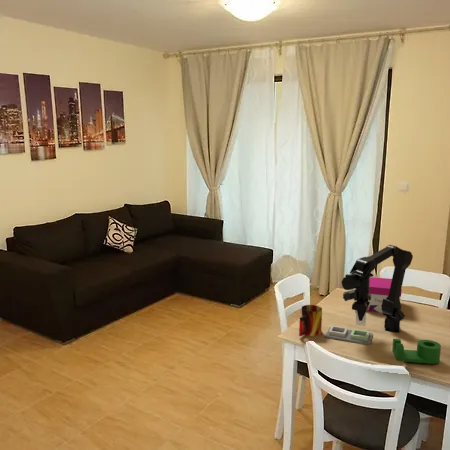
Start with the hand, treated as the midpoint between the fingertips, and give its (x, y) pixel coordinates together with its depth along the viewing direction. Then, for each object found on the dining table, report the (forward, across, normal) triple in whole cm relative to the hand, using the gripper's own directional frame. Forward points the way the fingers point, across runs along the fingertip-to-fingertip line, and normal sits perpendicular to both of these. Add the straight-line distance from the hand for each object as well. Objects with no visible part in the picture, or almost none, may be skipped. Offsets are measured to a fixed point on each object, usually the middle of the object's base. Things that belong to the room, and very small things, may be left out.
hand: (361, 319), depth 209 cm
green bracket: (+10, +10, +25) cm, 28 cm away
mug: (+10, +4, -22) cm, 25 cm away
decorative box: (+10, -44, +4) cm, 45 cm away
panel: (+9, 0, -5) cm, 11 cm away
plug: (+2, 0, 0) cm, 2 cm away
